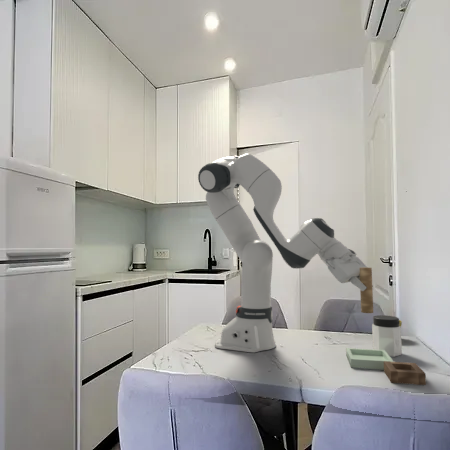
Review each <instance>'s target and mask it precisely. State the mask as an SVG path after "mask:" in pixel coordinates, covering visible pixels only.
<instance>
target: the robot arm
mask: <svg viewBox="0 0 450 450" xmlns="http://www.w3.org/2000/svg"><path fill="white" fill-rule="evenodd" d="M197 176H198V177H197V178H198V179H197V180H198V183H199V185H200V187H201V188H202V189H203V190H204V191H205V192H206V194H205V201H206V203H207V204H206V205H207V207H208V208H209V210H210V212H211V215H212V216H213V217H214V219H215V221H216V222H217V224H218V226H219V227H220V229H221V230H222V232H223V233H224V235H225V237H226V238H227V240H228V242H229V243H230V245H231V247H232V248H233V250H234V252H235V253H236V255H237V257H238V258H239V260H240V261H241V285H240V297H241V298H240V300H241V301H240V302H241V304H240V305H238V306H237V307H236V308H235V314H236V315H235V317H234V318H232V319H231V320H230V321H229V322H227V324H226V325H224V327H223V328H222V330H221V335H220V337H219V338H218V339H216V340H215V342H214V347H215V348H216V349H222V350H230V351H237V352H238V351H239V352H246V353H247V352H248V353H259V352H260V351H268V350H271V349H275V347H277V345H276V341H275V336H274V332H273V319H274V318H273V316H274V315H273V307H272V301H271V300H272V298H271V297H272V296H271V295H272V291H271V288H272V287H271V283H272V275H273V260H274V259H273V258H274V254H273V250H272V247H271V246H270V245H269V244H268V243H267V242H266V241H264V240H262V239H261V237H260V236H259V234H258V232H257V230H256V229H255V227H254V225H253V223H252V220H251V219H250V217H249V215H248V214H247V212H245V209H244V208H243V207H242V205H241V203H240V202H239V201H238V199H237V197H236V196H235V193H234V191H235V189H238V188H239V187H240V186H241V187H242V188H243V189H244V190H245V191H246V192H247V193H248V194H249V195H250V196H251V199H252V201H253V206H254V207H253V209H252V211H253V213H254V215H255V217H256V219H257V221H258V222H259V223H260V225H261V227H262V228H263V230H264V231H265V232H266V234H267V236H268V237H269V238H270V240H271V242H273V244H274V246H275V247H276V249H277V250H278V253H279V254H280V256H281V258H282V260H283V261H284V262H285V263H286V265H288V266H289V267H290V268H291V269H304V268H306V266H307V265H308V264H309V263H310V261H311V260H312V259H314V257H315V256H317V255H318V256H319V258H320V260H321V261H322V262H323V263H324V264H325V266H327V269H328V271H329V272H330V273H331V274H332V275H333V277H334V278H335V279H336V281H338V282H339V283H341V284H345V283H346V284H347V283H351V284H352V285H353V286H355V287H357V288H358V289H359V291H360V290H361V291H365V290H366V289H367V286H366V285H365V284H364V283H362V282H361V281H360V268H361V267H367V265H366V264H365V263H364V262H363V261H362V259H360V258H359V257H358V256H357V253H356V252H355V251H354V250H352V249H349V248H348V247H347V246H345V245H344V244H343V242H341V241H340V240H338V239H337V238H335V229H333V228H331V226H330V225H328V223H327V222H326V221H325V220H324V219H323V218H320V217H319V218H318V217H316V218H315V217H313V218H311V219H308V220H306V221H305V222H302V225H301V226H300V227H299V229H298V230H297V231H296V232H295V233H294V234H293V235H292V236H291V237H289V238H288V239H286V238H285V237H286V236H284V234H283V233H282V231H281V230H280V229H279V227H278V226H277V224H276V223H275V220H274V213H275V209H276V208H277V205H278V202H279V200H280V197H281V194H282V189H283V185H282V181H281V179H280V178H279V176H277V174H276V173H275V172H274V171H273V170H272V169H271V168H270V167H269V166H268V165H267V164H265V163H264V162H263V161H261V160H260V159H259V158H257V157H256V156H255V155H254V154H251V153H244V154H242V155H240V156H238V155H229V156H226V157H225V156H224V157H221V158H218V159H216V160H213V161H212V162H208V163H206V164H205V165H203V166H202V167H201V168H200V170H199V171H198V175H197ZM372 288H374V285H373V284H372Z"/></svg>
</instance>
